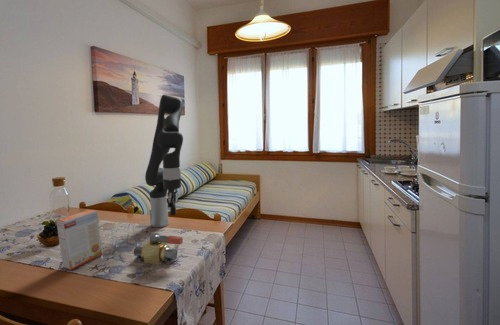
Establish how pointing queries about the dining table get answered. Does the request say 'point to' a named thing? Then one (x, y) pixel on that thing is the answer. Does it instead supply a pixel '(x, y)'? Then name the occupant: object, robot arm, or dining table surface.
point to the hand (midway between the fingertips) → (173, 214)
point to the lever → (165, 239)
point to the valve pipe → (155, 253)
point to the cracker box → (79, 238)
